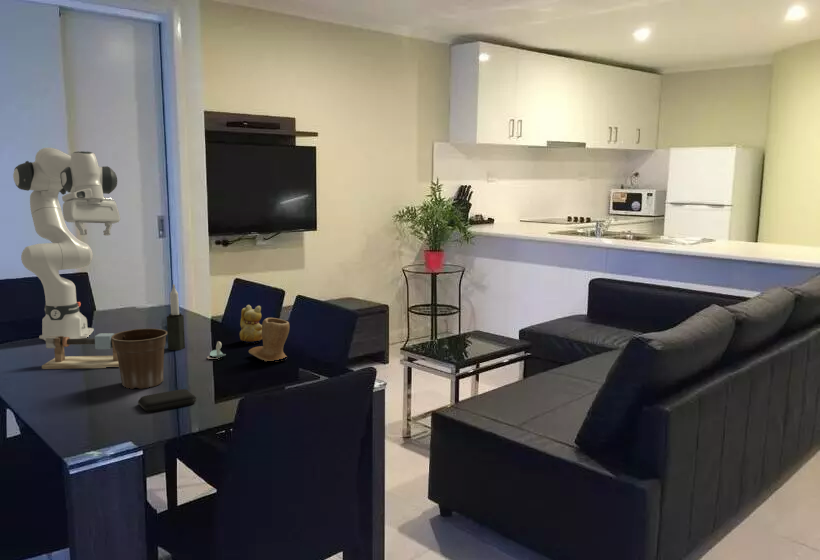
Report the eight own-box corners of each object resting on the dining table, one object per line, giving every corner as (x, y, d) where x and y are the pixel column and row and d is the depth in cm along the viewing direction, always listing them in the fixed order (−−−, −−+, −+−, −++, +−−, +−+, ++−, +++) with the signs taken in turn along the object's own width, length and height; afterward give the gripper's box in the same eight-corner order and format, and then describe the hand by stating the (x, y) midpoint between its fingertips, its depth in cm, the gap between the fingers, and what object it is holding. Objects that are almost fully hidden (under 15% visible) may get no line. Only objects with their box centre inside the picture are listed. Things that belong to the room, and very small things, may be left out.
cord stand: (57, 359, 236) (55, 333, 235) (132, 358, 238) (130, 332, 237) (41, 369, 224) (39, 340, 223) (120, 367, 226) (119, 339, 225)
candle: (179, 350, 250) (176, 285, 247) (166, 349, 251) (163, 285, 248) (186, 347, 255) (183, 283, 251) (174, 346, 256) (171, 283, 252)
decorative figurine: (266, 340, 267) (265, 304, 265) (259, 345, 259) (258, 308, 257) (243, 339, 268) (242, 303, 266) (235, 344, 260) (234, 307, 258)
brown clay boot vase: (295, 360, 237) (294, 320, 235) (264, 366, 230) (263, 323, 228) (277, 352, 249) (276, 313, 247) (247, 356, 242) (246, 316, 240)
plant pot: (135, 395, 198) (132, 342, 195) (103, 386, 206) (100, 335, 204) (180, 381, 211) (178, 332, 209) (148, 373, 220) (145, 326, 218)
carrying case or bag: (186, 395, 199) (135, 404, 190) (186, 385, 198) (135, 394, 190) (198, 405, 190) (145, 415, 182) (198, 394, 190) (145, 404, 181)
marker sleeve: (100, 346, 233) (99, 333, 232) (115, 345, 233) (114, 333, 233) (95, 349, 228) (94, 336, 228) (110, 349, 229) (109, 336, 228)
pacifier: (211, 362, 235) (227, 359, 239) (209, 345, 234) (226, 342, 237) (204, 357, 241) (220, 355, 244) (203, 341, 240) (219, 338, 243)
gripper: (109, 200, 242) (114, 237, 242) (57, 196, 224) (63, 236, 223) (120, 196, 239) (126, 233, 239) (69, 192, 221) (75, 233, 221)
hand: (95, 235), depth 231 cm, fingers open, 8 cm apart
